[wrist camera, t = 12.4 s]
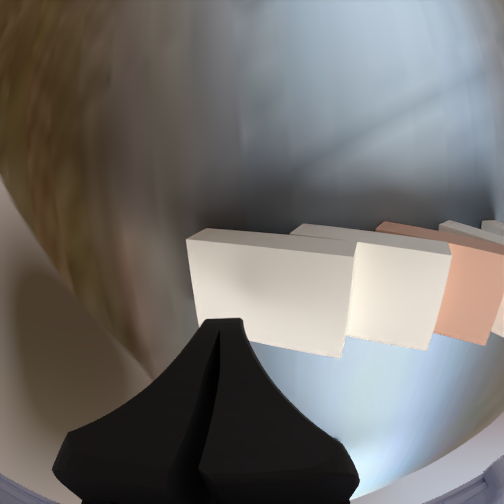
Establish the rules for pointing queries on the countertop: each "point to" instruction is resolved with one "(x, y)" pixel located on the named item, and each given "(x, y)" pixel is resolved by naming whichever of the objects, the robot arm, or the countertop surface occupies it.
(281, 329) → the domino
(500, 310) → the domino
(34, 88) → the countertop surface
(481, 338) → the domino
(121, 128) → the countertop surface
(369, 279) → the domino
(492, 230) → the domino
